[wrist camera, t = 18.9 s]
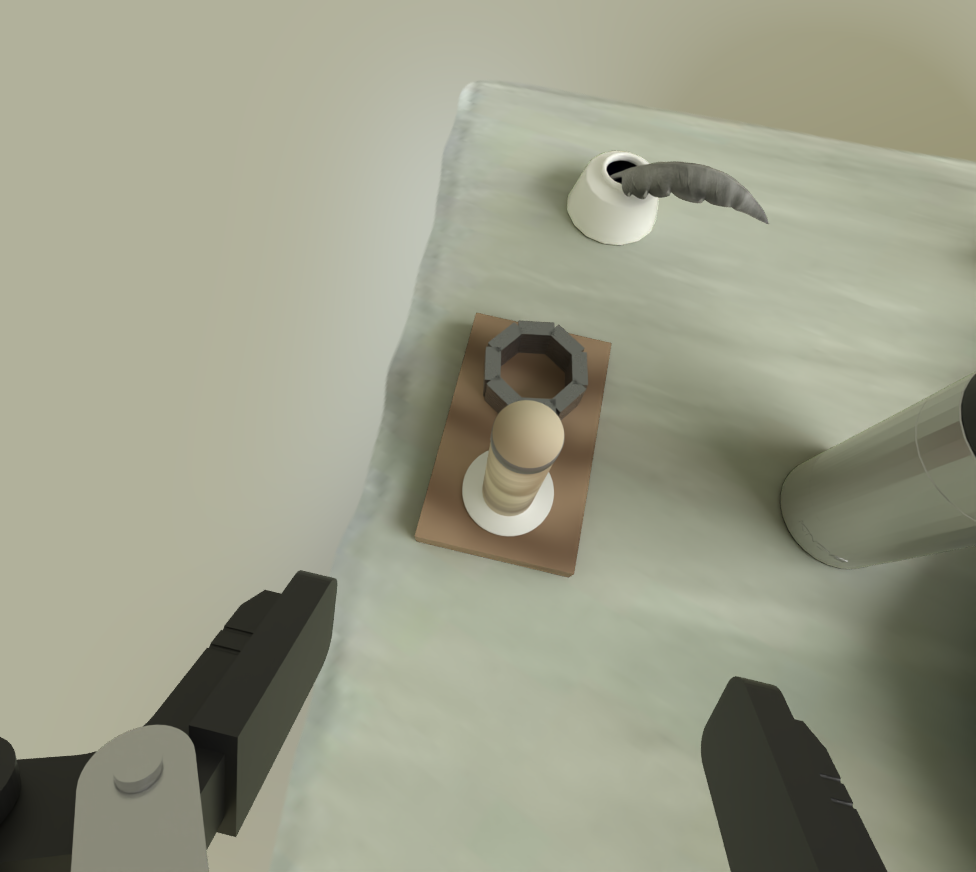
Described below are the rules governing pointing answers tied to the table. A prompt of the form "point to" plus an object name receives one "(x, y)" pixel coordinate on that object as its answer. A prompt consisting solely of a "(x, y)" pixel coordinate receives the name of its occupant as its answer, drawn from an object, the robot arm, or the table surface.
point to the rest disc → (499, 522)
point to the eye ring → (537, 342)
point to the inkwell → (645, 194)
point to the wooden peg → (520, 455)
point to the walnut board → (470, 438)
